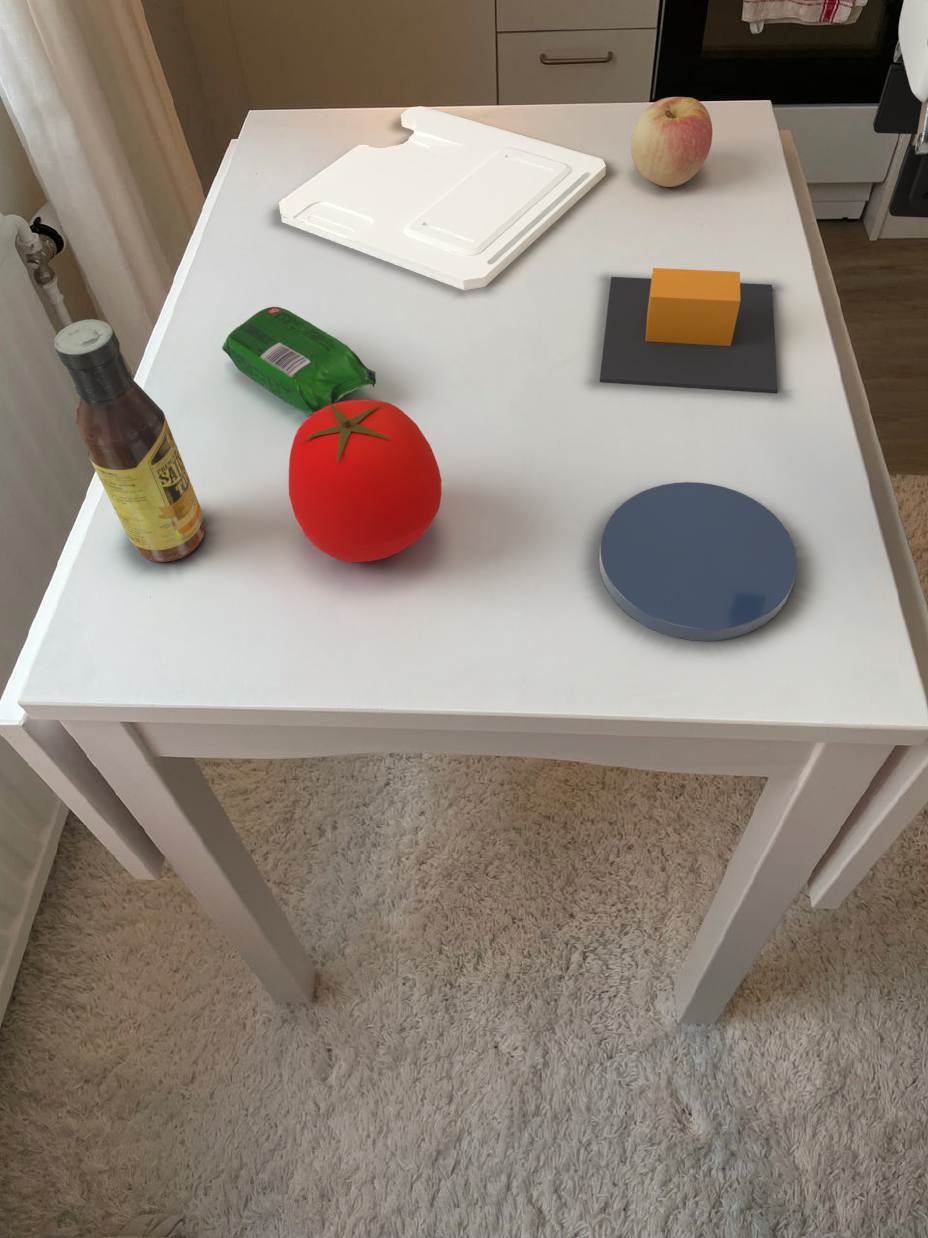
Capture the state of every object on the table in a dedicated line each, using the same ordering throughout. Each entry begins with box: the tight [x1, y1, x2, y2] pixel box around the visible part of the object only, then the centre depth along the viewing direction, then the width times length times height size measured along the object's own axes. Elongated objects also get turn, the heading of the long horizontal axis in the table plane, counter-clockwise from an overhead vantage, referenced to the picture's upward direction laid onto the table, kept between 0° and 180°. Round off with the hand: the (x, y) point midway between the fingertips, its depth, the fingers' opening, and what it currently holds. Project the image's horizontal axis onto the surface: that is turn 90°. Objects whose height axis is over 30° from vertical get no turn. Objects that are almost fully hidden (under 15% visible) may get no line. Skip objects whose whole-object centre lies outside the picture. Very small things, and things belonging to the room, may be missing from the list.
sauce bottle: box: [53, 318, 206, 563], centre depth 72 cm, size 6×6×20 cm
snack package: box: [221, 306, 377, 415], centre depth 88 cm, size 7×16×5 cm, turn 46°
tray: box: [278, 105, 607, 291], centre depth 109 cm, size 28×28×2 cm
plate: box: [598, 481, 798, 642], centre depth 75 cm, size 15×15×2 cm
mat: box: [599, 276, 779, 394], centre depth 92 cm, size 16×16×1 cm
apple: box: [630, 96, 713, 188], centre depth 106 cm, size 9×9×8 cm
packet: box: [645, 267, 741, 346], centre depth 90 cm, size 8×4×5 cm, turn 81°
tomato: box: [288, 399, 442, 563], centre depth 74 cm, size 12×12×13 cm
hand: (906, 170), depth 59 cm, fingers open, 9 cm apart
